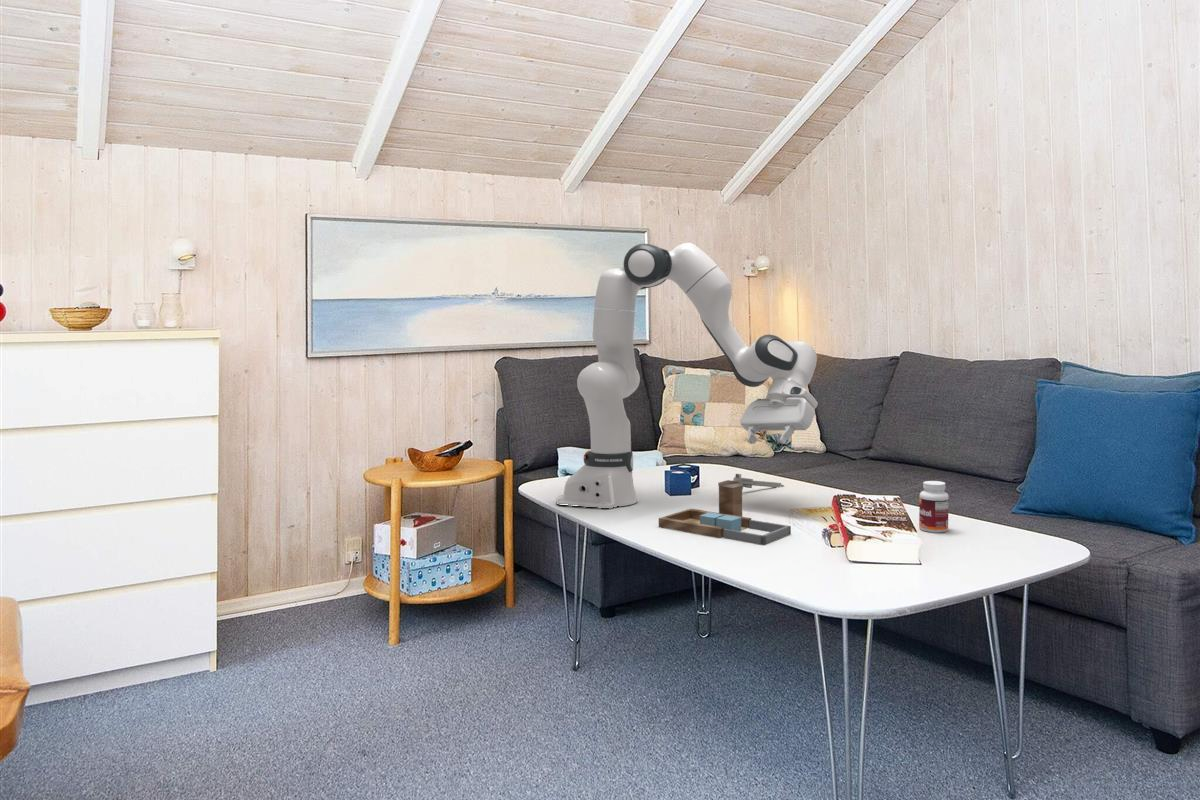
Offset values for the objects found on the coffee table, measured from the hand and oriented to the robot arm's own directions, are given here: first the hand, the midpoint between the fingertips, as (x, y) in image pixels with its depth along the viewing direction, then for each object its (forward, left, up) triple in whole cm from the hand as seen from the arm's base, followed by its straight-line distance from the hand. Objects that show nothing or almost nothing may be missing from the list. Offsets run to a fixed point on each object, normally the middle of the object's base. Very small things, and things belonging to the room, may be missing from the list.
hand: (765, 442), depth 198 cm
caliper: (-1, +32, -19) cm, 37 cm away
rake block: (-8, -9, -19) cm, 22 cm away
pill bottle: (+38, -11, -19) cm, 43 cm away
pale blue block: (-12, -20, -17) cm, 29 cm away
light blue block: (-9, -22, -17) cm, 29 cm away
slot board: (-14, -19, -18) cm, 30 cm away
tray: (-2, -26, -18) cm, 32 cm away
